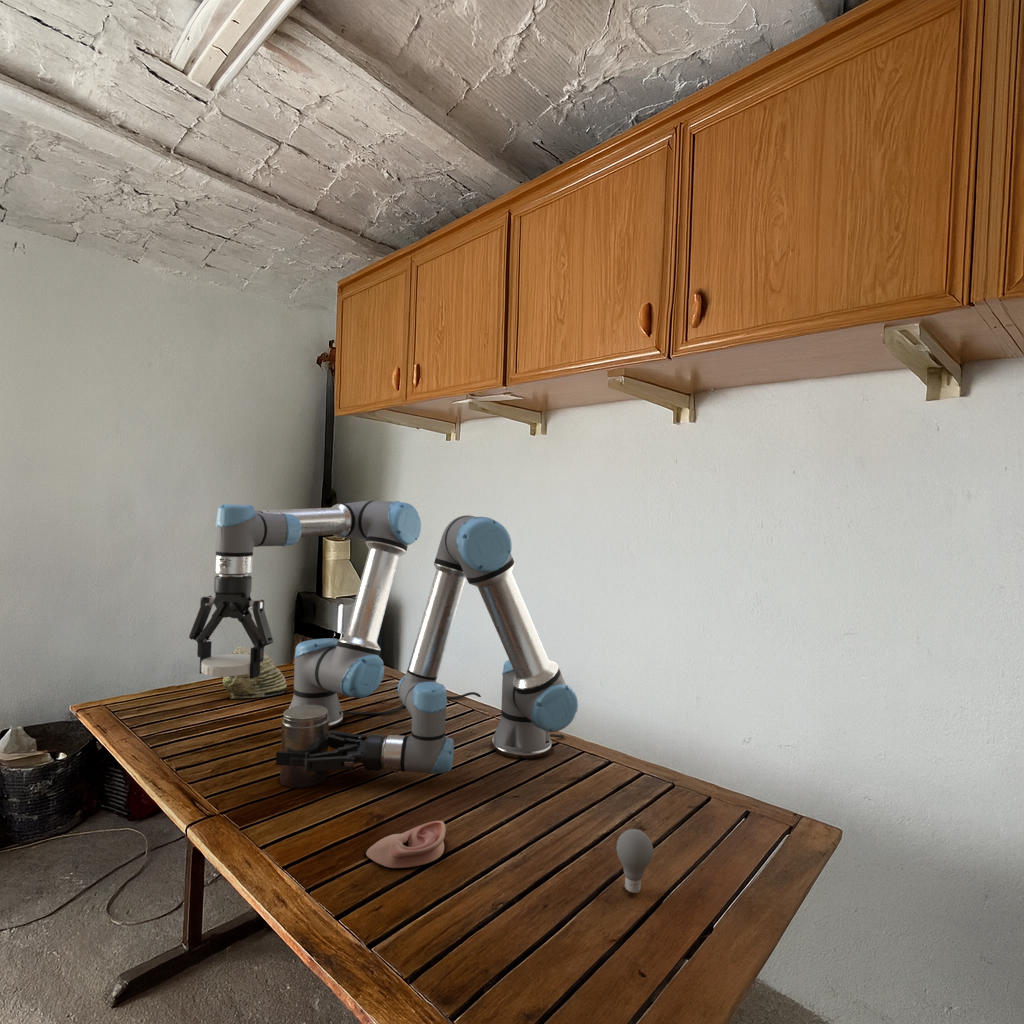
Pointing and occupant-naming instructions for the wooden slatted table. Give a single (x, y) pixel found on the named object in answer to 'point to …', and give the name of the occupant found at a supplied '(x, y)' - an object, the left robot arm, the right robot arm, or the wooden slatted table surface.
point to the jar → (304, 742)
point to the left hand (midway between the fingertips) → (229, 674)
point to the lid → (226, 665)
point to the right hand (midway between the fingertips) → (285, 748)
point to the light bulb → (634, 857)
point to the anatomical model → (410, 846)
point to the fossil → (256, 680)
